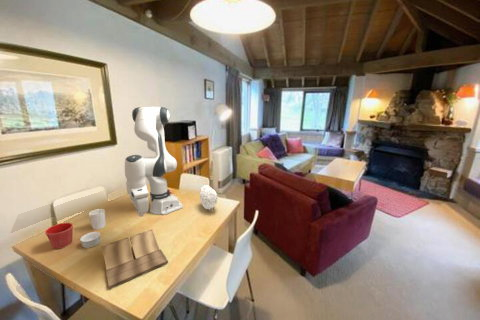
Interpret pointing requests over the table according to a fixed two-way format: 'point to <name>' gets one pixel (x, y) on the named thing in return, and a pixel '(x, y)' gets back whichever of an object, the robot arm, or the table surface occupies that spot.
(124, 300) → the table surface
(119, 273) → the floor strip
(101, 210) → the white cup
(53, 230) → the flower pot
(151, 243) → the plank
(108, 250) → the plank
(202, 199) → the white lumpy rounded piece
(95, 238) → the ramekin
